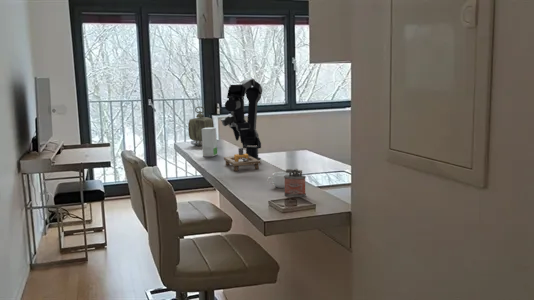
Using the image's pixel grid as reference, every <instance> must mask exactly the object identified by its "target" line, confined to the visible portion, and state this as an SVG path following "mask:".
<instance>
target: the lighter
mask: <svg viewBox="0 0 534 300" xmlns="http://www.w3.org/2000/svg"><path fill="white" fill-rule="evenodd" d="M285 172H286V173H289V175H284V178H285V188H284V197H291V198H305V197H306V196H307V193H306V178H307V177H306V175H303V170H302V169H298V168H294V169H291V168H286V169H285ZM291 173H292V175H291Z"/></svg>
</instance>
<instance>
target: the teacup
mask: <svg viewBox="0 0 534 300" xmlns="http://www.w3.org/2000/svg"><path fill="white" fill-rule="evenodd" d="M271 174H272V175H271V176H268V177H267V182H268V184H270V185H274V186H275V187H276V188H278V189H285V178H284V175H289V173H286V171H275V172H273V173H271ZM292 174H293V173H291V175H292ZM269 179H271V180H272V181H271V182H270V181H269Z"/></svg>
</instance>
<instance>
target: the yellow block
mask: <svg viewBox="0 0 534 300" xmlns="http://www.w3.org/2000/svg"><path fill="white" fill-rule="evenodd" d="M233 156H234V161H235V162H238V161H240V159H239V157H244V158H248V154H246V153H244V148H243V147H239V148H238V153H235V154H234V155H233Z"/></svg>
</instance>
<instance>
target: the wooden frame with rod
mask: <svg viewBox="0 0 534 300" xmlns="http://www.w3.org/2000/svg"><path fill="white" fill-rule="evenodd" d="M243 158H244V157H243ZM223 161H225V166H230V165H232V166H233V171H234V172H238V171H239V166H247V165H254V170H259V169H260V165H259V164H261V160H260V159H258V160H257V159H255V158H253V157H252V156H250V155H248V161H247V162H243V160H241V159H240V158H239V161H238V162H235V161H234V155H232V156H223Z"/></svg>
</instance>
